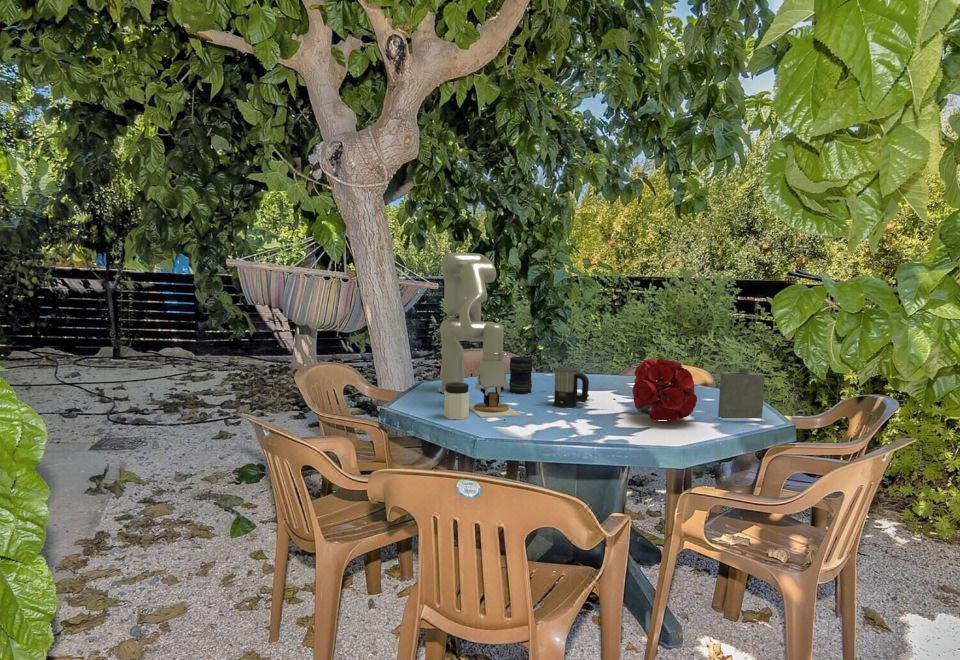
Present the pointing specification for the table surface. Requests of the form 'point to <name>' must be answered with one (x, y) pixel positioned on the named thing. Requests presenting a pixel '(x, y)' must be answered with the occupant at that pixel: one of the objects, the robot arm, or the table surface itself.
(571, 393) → the milk frother
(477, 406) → the lid
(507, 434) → the table surface
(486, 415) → the placemat
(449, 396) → the jar
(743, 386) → the hip flask
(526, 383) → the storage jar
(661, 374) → the bouquet
